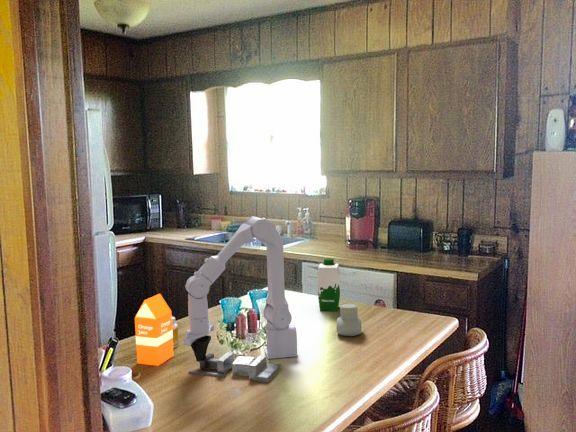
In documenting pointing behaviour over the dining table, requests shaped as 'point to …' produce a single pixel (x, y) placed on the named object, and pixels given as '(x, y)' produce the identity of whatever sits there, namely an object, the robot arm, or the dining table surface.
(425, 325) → the dining table surface
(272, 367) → the vise base
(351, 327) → the air freshener
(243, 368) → the steel block
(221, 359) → the free jaw
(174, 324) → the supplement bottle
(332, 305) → the milk carton
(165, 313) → the orange juice
